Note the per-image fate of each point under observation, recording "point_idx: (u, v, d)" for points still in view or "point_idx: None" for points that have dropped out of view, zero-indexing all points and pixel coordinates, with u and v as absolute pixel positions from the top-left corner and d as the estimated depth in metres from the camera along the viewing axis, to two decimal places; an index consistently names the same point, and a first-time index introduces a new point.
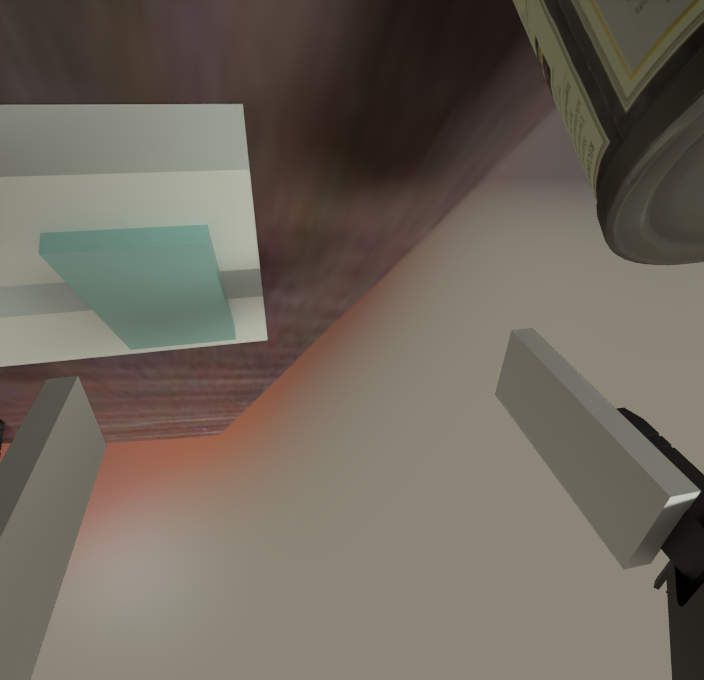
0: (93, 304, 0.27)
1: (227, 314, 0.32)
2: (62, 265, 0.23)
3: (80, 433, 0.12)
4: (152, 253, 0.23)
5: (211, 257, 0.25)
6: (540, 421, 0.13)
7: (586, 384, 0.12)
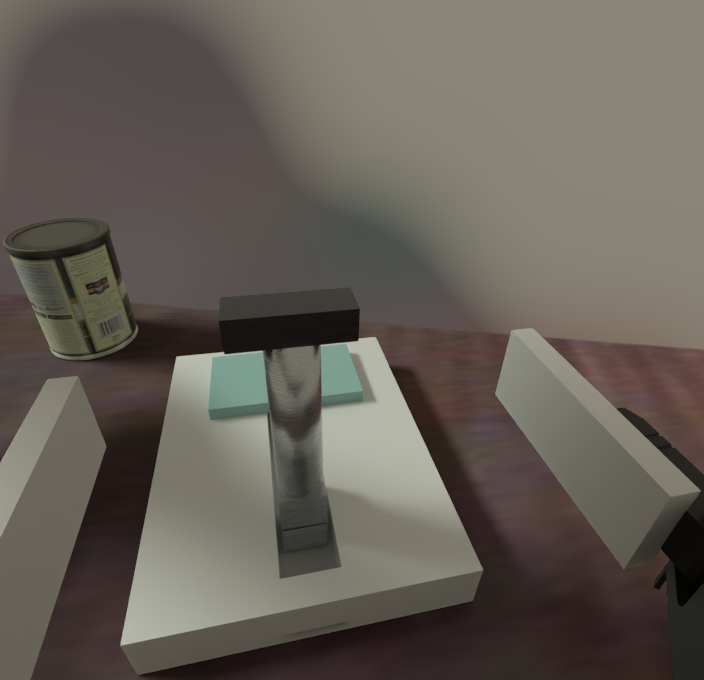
0: None
1: None
2: (222, 403, 0.40)
3: (80, 433, 0.12)
4: (217, 373, 0.43)
5: (226, 356, 0.46)
6: (540, 421, 0.13)
7: (586, 384, 0.12)
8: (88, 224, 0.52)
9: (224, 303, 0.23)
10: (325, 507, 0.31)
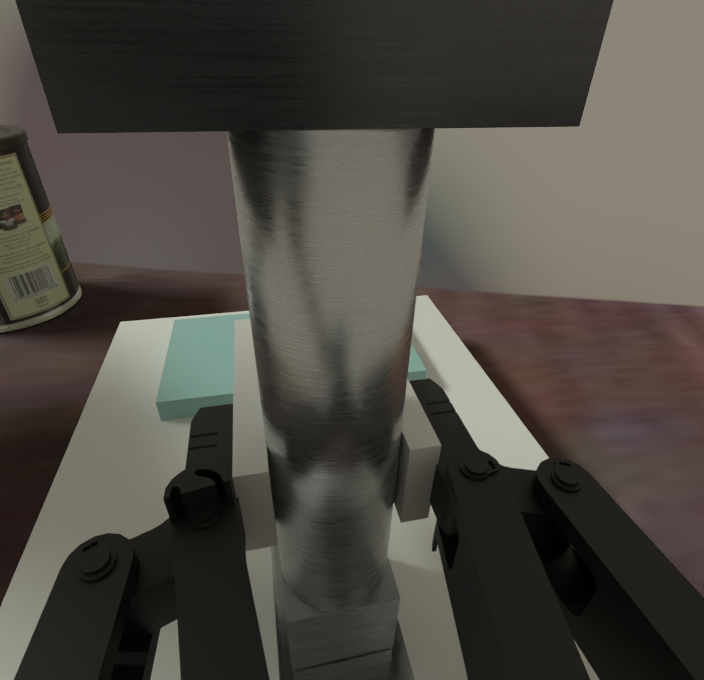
0: None
1: None
2: (182, 392, 0.22)
3: None
4: (179, 343, 0.26)
5: (197, 318, 0.29)
6: None
7: None
8: None
9: None
10: (393, 621, 0.13)
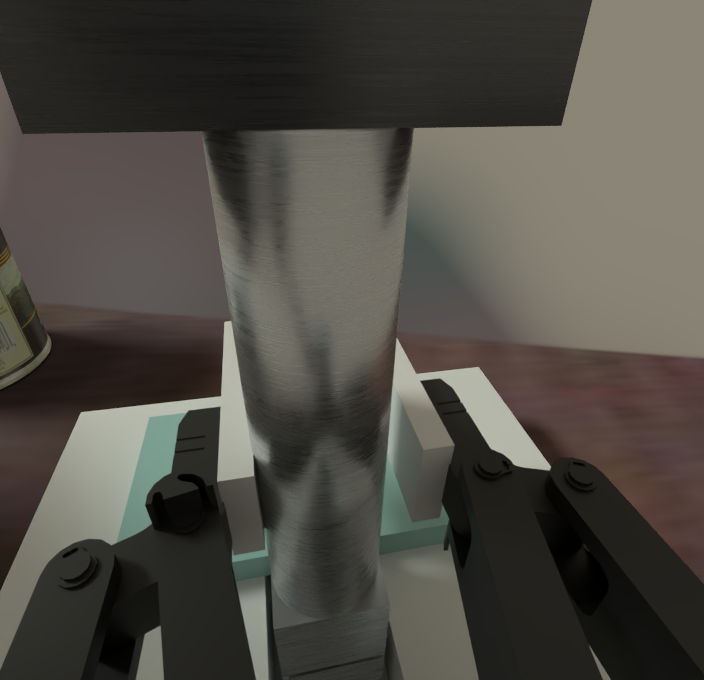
0: None
1: None
2: None
3: None
4: (152, 462, 0.19)
5: (180, 414, 0.21)
6: None
7: (402, 356, 0.13)
8: None
9: None
10: (384, 628, 0.13)
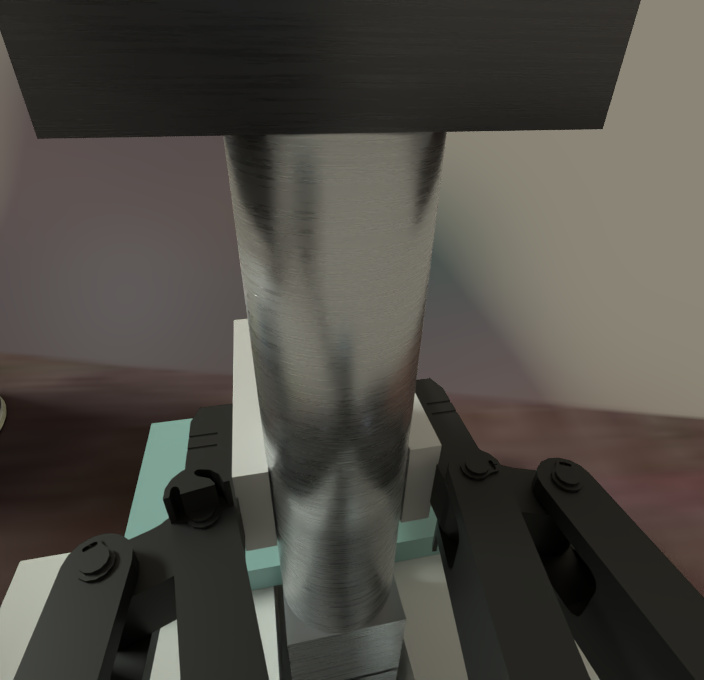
0: None
1: None
2: None
3: None
4: (155, 469, 0.18)
5: (183, 420, 0.21)
6: None
7: None
8: None
9: None
10: (399, 641, 0.13)
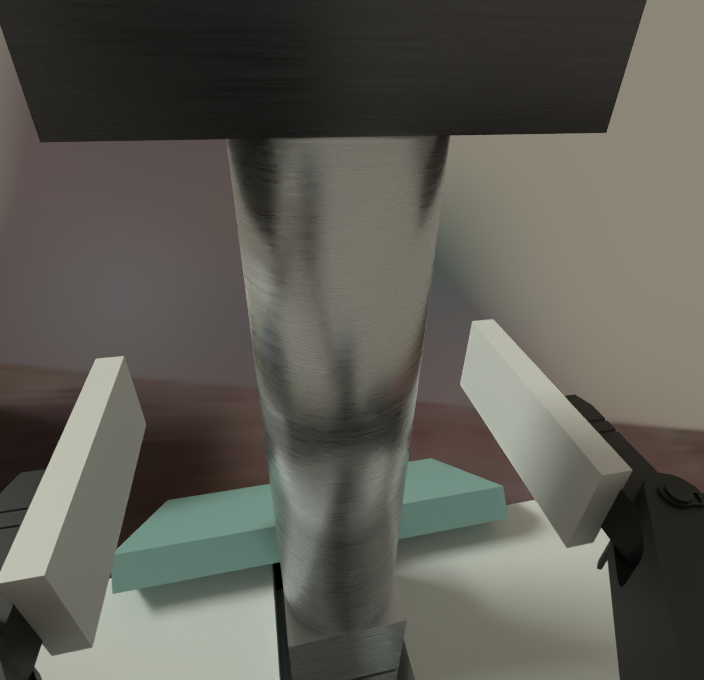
0: None
1: None
2: (153, 543, 0.15)
3: (127, 409, 0.13)
4: (167, 512, 0.20)
5: (196, 496, 0.23)
6: (497, 408, 0.14)
7: (537, 372, 0.13)
8: None
9: None
10: (399, 643, 0.13)
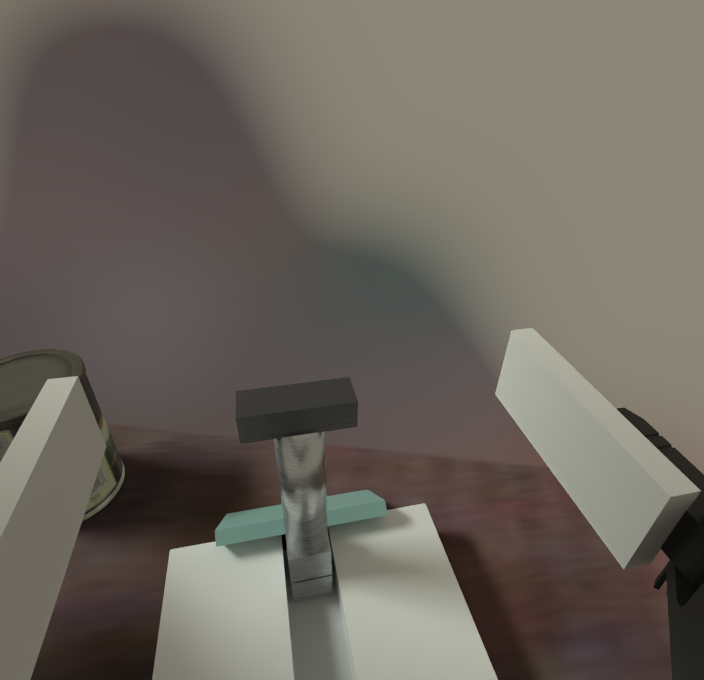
0: None
1: None
2: (230, 526, 0.36)
3: (80, 433, 0.12)
4: (230, 517, 0.40)
5: (241, 511, 0.43)
6: (540, 421, 0.13)
7: (586, 384, 0.12)
8: (59, 360, 0.41)
9: (240, 398, 0.26)
10: (330, 562, 0.34)
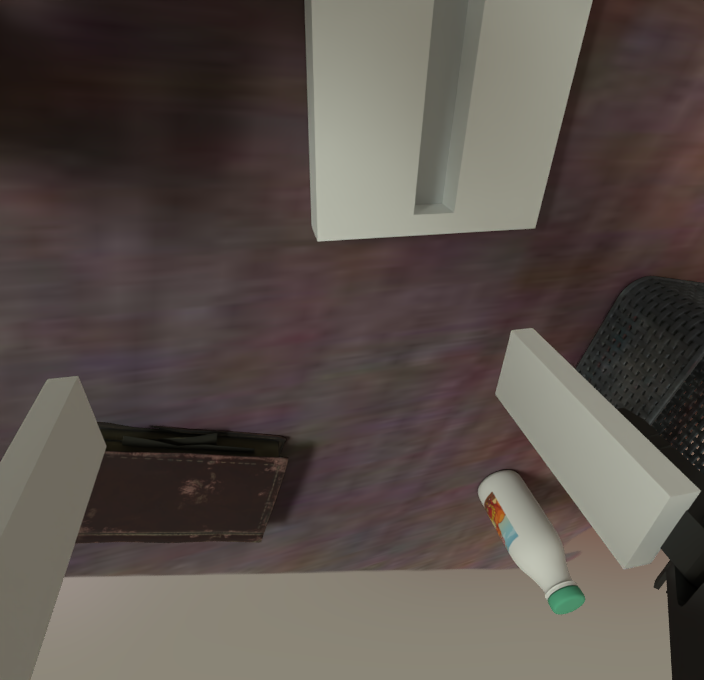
0: None
1: None
2: None
3: (80, 433, 0.12)
4: None
5: None
6: (540, 421, 0.13)
7: (586, 384, 0.12)
8: None
9: None
10: None
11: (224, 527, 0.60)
